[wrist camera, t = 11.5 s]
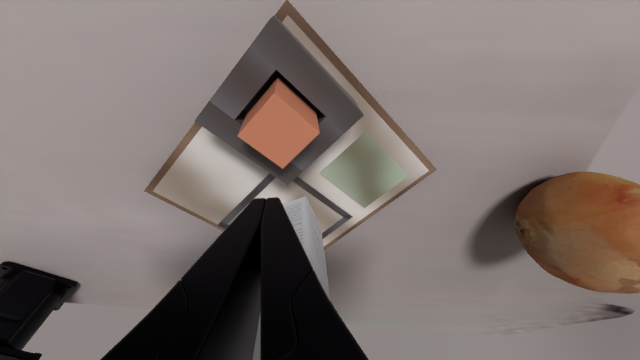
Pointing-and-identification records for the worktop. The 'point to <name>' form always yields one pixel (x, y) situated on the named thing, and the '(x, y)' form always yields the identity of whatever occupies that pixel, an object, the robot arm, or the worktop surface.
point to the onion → (584, 230)
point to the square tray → (313, 161)
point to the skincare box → (305, 245)
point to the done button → (279, 124)
